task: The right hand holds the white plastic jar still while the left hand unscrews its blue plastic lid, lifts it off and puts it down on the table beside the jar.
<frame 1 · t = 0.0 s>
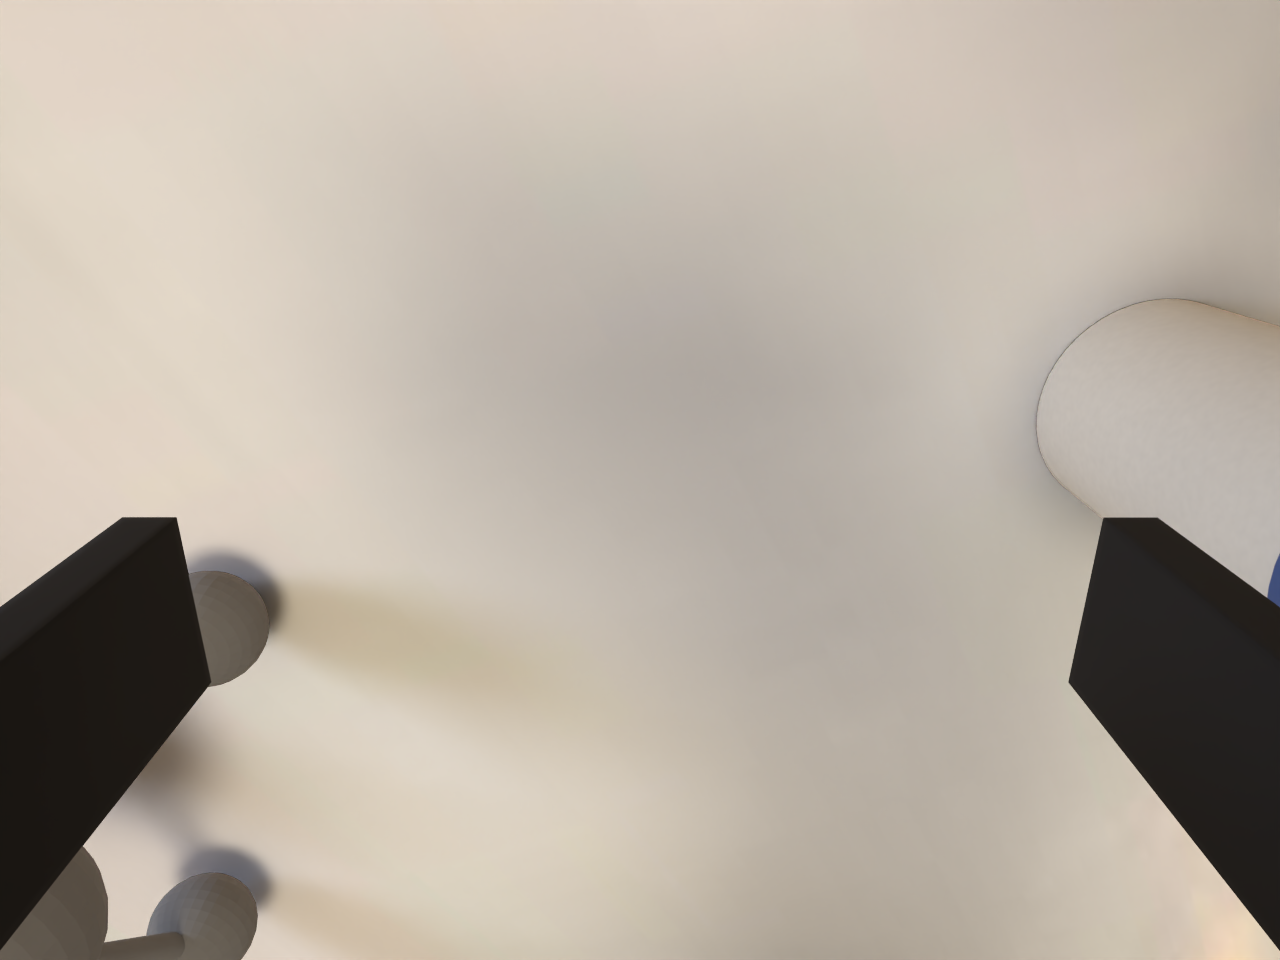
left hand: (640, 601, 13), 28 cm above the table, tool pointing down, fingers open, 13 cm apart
molecular model: (162, 706, 47), on the table
jar: (1145, 407, 41), on the table
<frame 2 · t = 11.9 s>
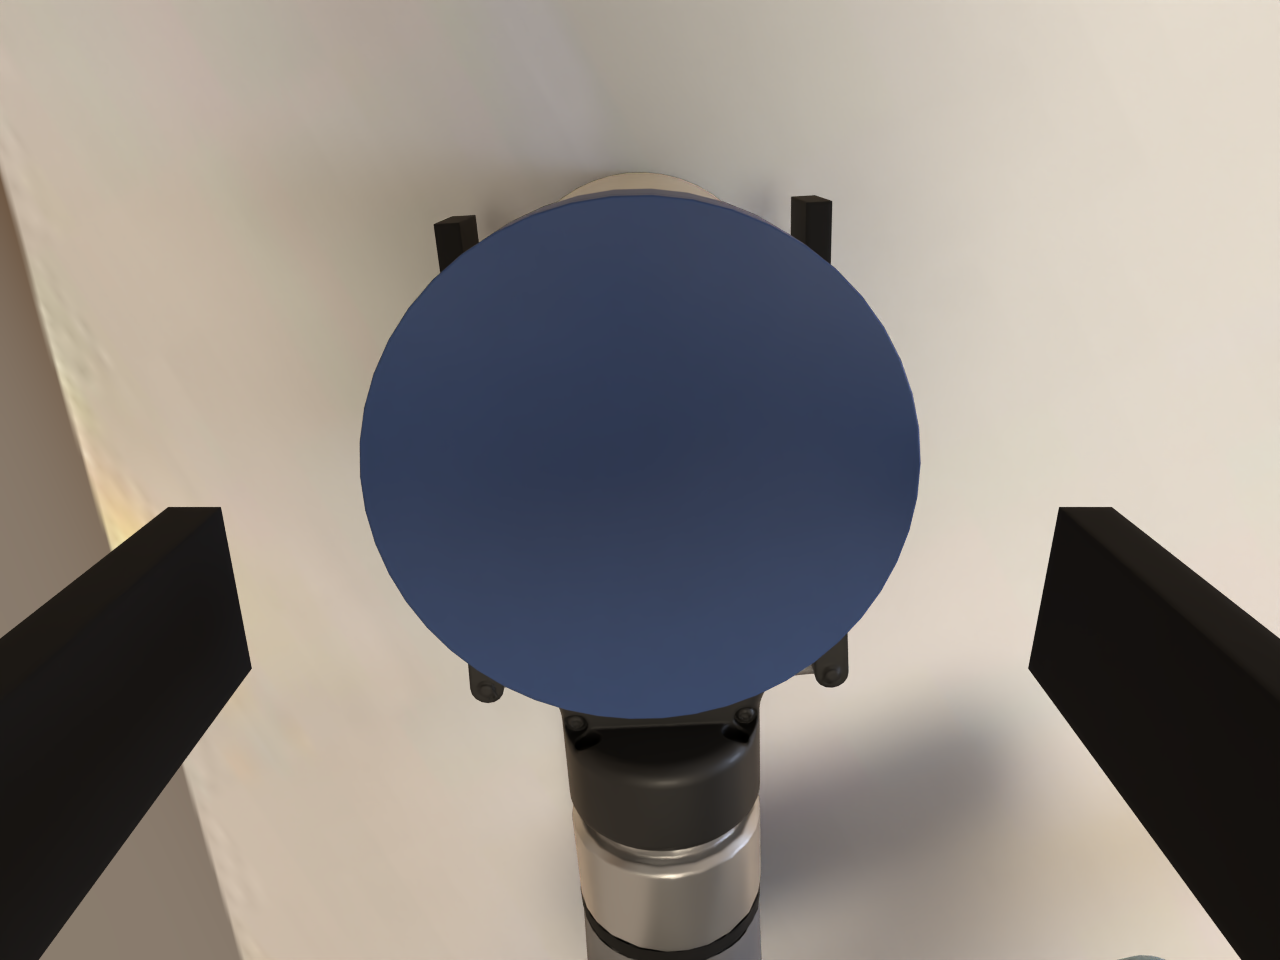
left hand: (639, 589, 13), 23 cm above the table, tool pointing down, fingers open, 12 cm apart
lid: (639, 481, 17), point 18 cm above the table, screwed on, not yet turned
jar: (640, 309, 34), on the table, touching right hand
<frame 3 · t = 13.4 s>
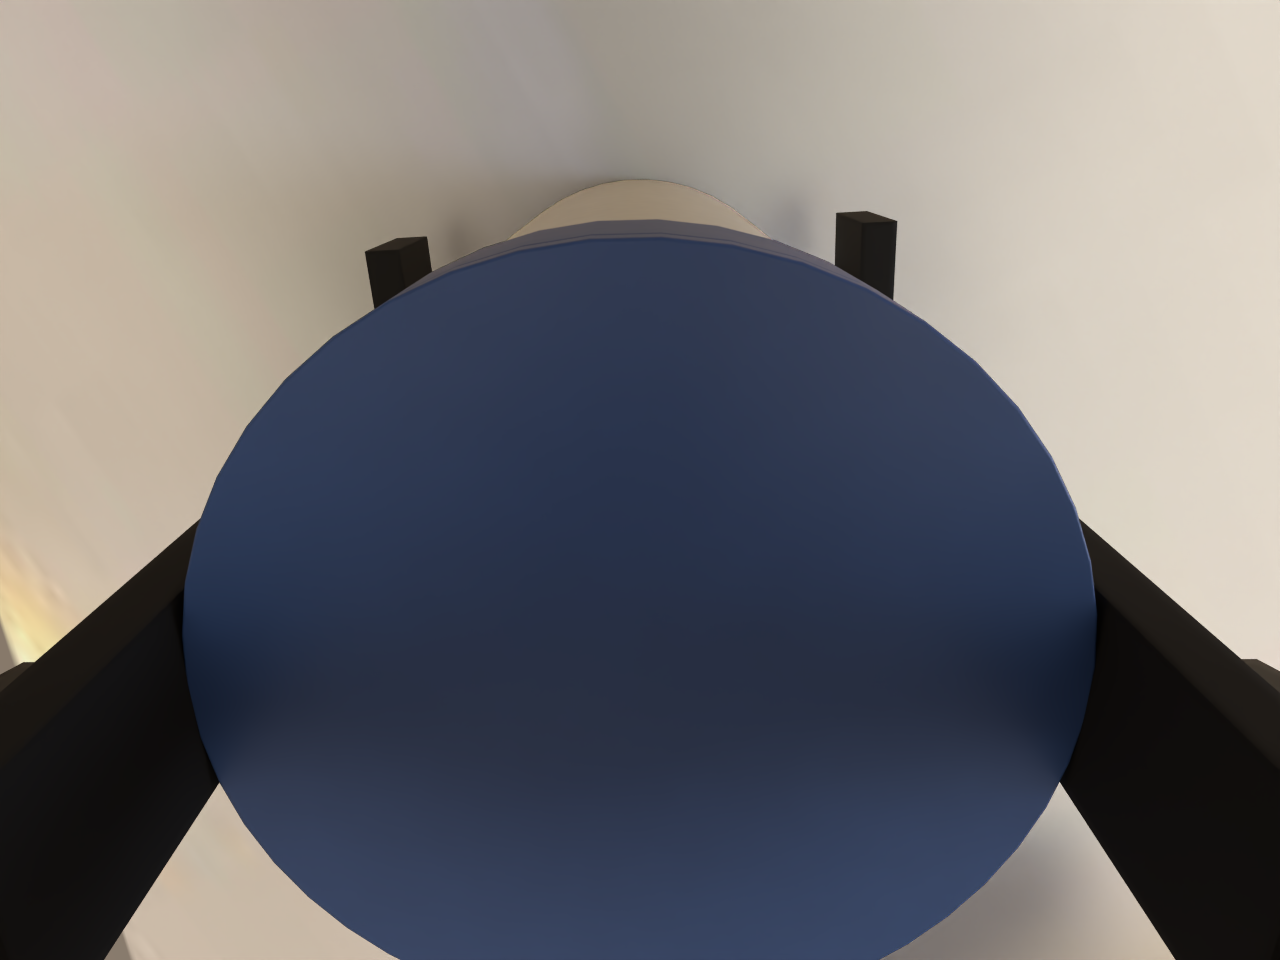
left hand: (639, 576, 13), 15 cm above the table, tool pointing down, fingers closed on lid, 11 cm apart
lid: (639, 685, 11), point 18 cm above the table, screwed on, not yet turned, touching left hand
jar: (640, 347, 28), on the table, touching right hand
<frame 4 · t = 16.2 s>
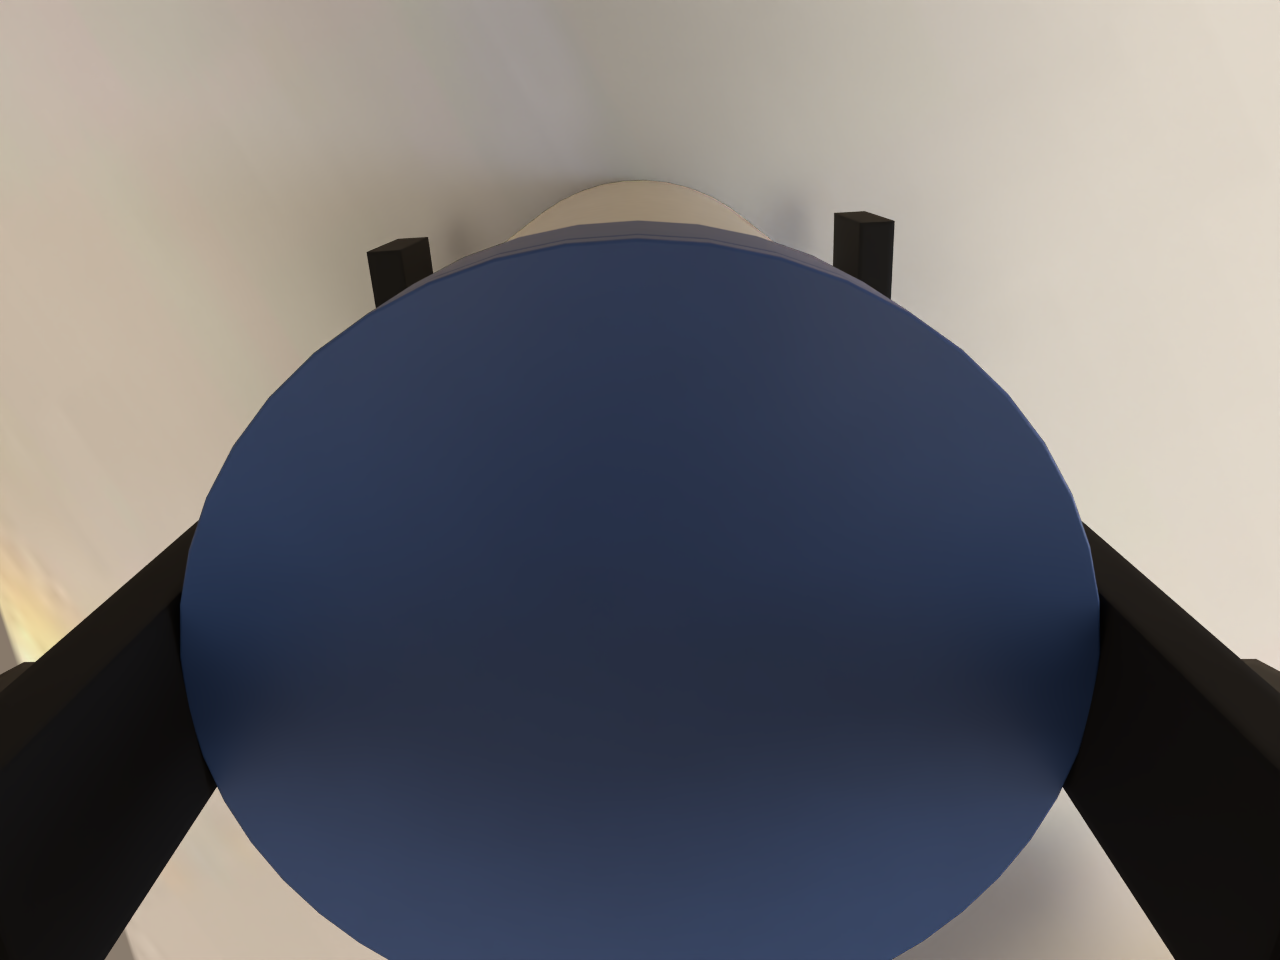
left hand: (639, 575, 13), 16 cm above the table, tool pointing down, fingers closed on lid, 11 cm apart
lid: (640, 689, 11), point 18 cm above the table, turned 77° so far, risen 0.2 cm, still on its thread, touching left hand
jar: (639, 347, 28), on the table, touching right hand
when the left hand's fingers open (0 cm above the table, at t = 23.3 s): lid drops 2 cm, point 2 cm above the table.
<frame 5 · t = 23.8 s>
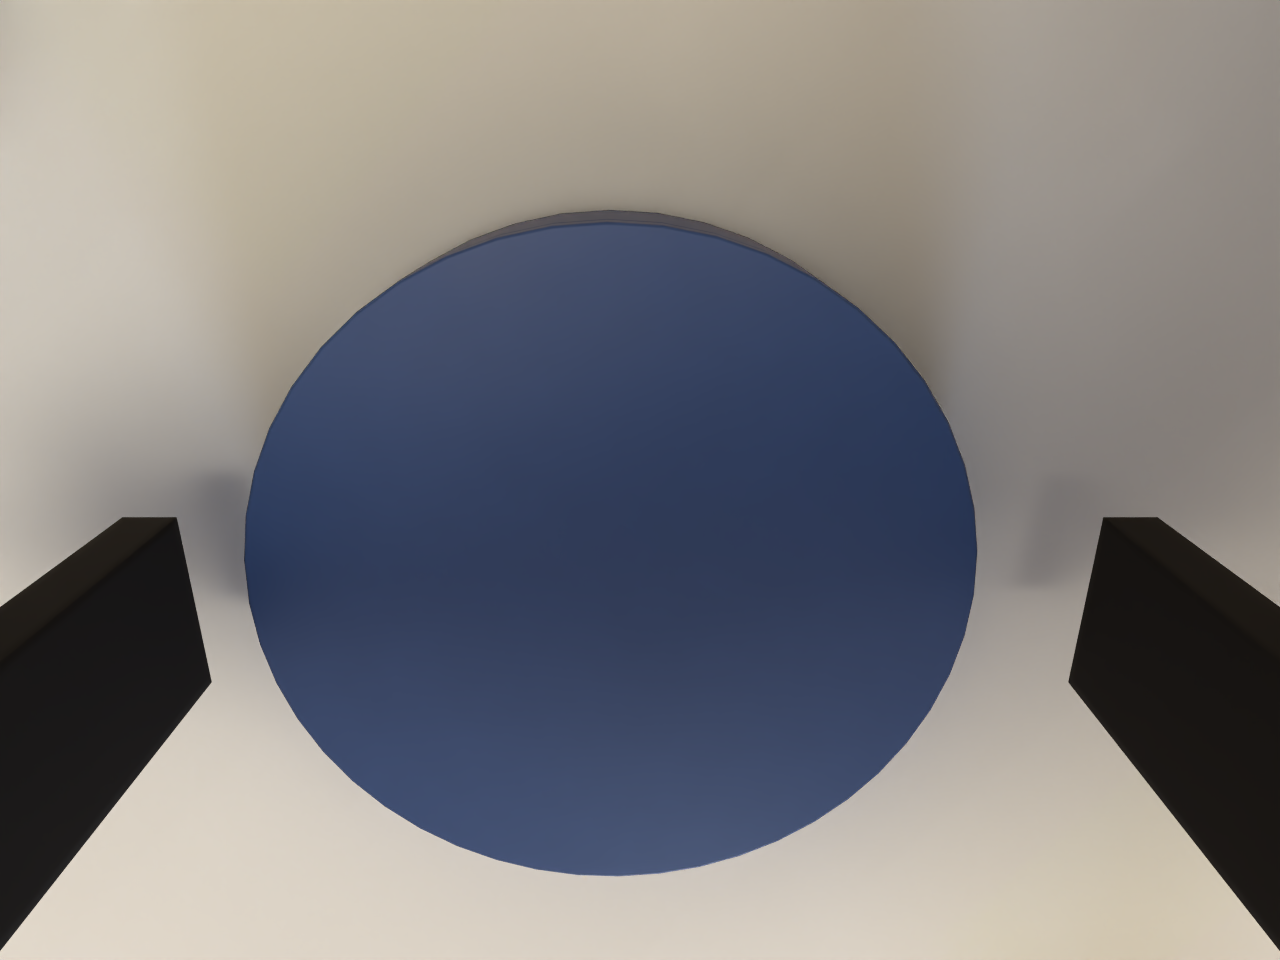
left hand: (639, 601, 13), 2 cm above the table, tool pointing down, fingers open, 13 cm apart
lid: (613, 587, 13), point 2 cm above the table, off its thread
when the right hand's fingers open (6 cm above the table, at t = 24.4 s): jar stays where it is, on the table.
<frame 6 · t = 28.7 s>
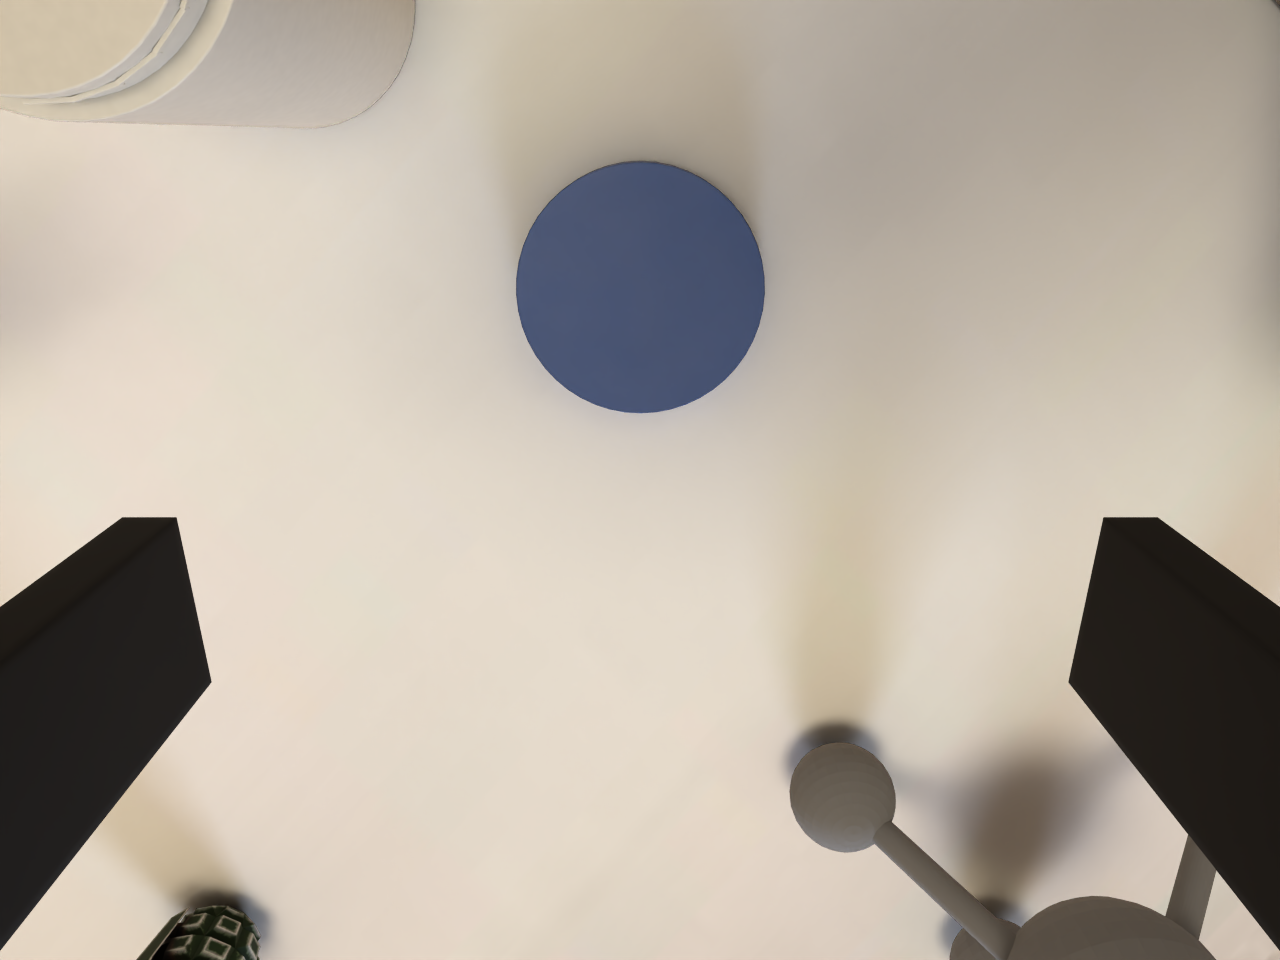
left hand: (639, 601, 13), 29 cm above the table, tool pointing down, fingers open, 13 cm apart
molecular model: (965, 792, 50), on the table
lid: (640, 292, 38), point 2 cm above the table, off its thread
grenade: (226, 917, 53), on the table
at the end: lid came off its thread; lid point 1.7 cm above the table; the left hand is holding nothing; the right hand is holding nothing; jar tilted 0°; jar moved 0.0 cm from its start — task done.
